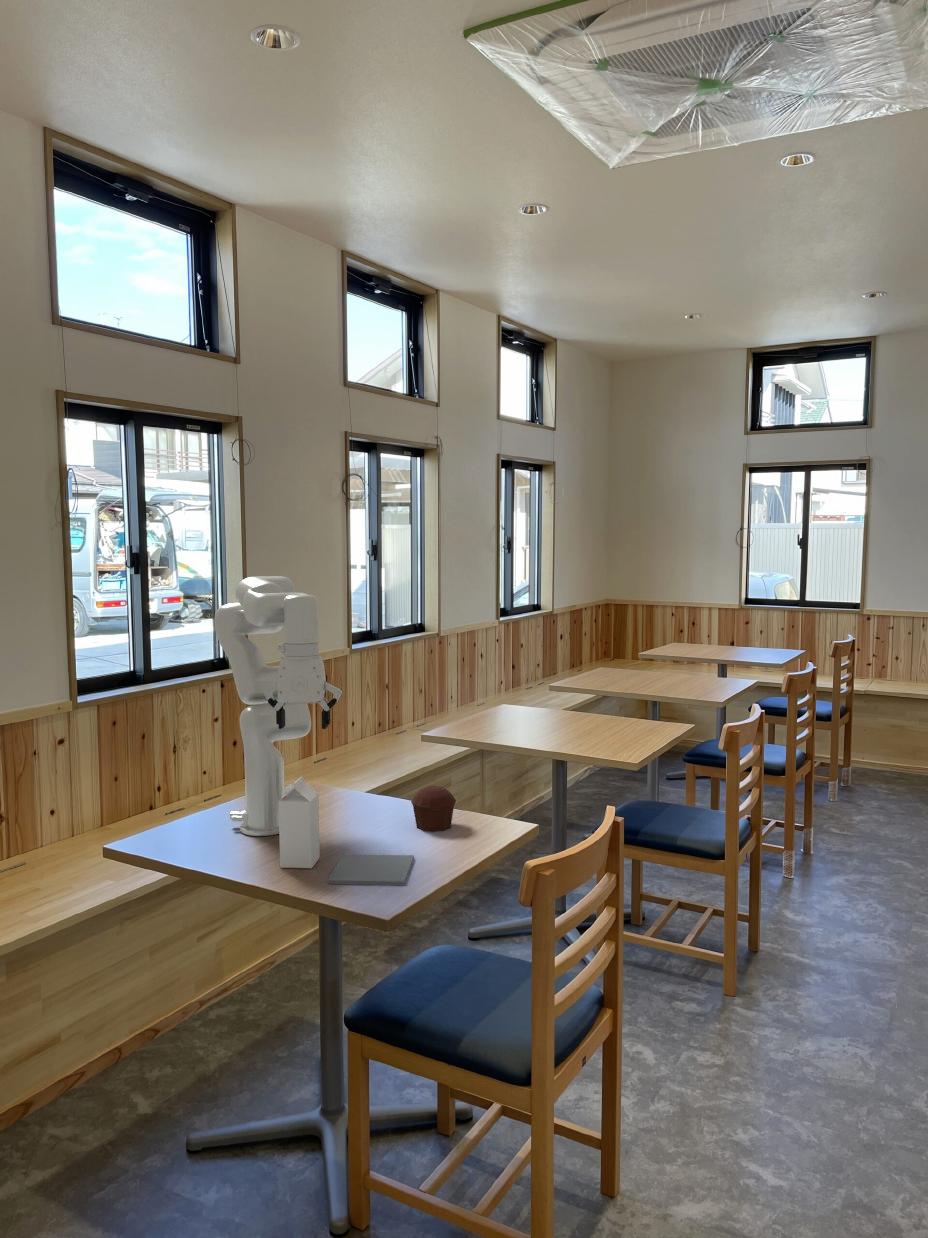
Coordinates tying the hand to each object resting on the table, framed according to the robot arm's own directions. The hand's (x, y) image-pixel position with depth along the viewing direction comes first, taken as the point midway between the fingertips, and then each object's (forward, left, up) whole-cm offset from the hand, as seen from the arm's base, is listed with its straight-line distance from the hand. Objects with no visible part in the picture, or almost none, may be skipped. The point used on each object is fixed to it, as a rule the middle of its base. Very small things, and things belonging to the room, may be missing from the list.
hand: (303, 727), depth 196 cm
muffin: (+26, +27, -31) cm, 48 cm away
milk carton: (-1, -1, -31) cm, 31 cm away
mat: (+16, -5, -30) cm, 35 cm away
